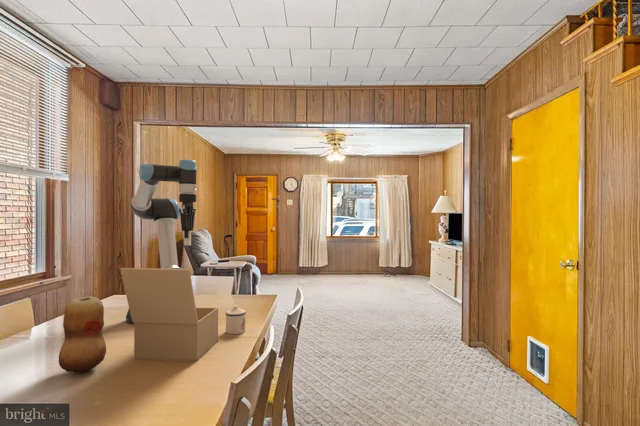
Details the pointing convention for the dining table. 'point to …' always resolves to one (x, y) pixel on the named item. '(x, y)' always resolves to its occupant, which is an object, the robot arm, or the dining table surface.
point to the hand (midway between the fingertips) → (187, 245)
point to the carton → (177, 338)
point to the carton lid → (160, 295)
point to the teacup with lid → (235, 320)
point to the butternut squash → (83, 335)
